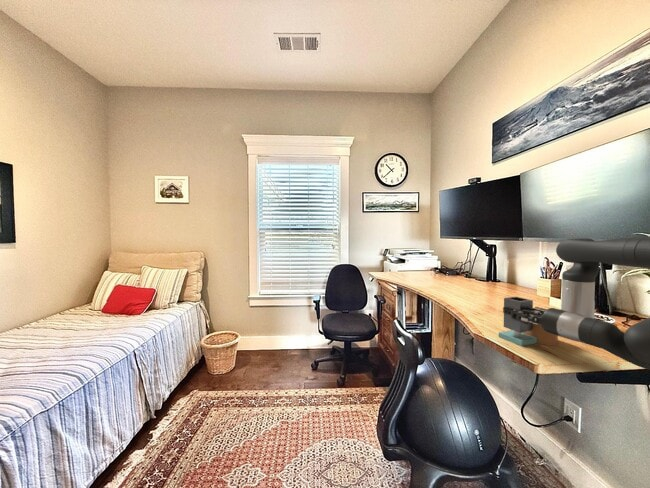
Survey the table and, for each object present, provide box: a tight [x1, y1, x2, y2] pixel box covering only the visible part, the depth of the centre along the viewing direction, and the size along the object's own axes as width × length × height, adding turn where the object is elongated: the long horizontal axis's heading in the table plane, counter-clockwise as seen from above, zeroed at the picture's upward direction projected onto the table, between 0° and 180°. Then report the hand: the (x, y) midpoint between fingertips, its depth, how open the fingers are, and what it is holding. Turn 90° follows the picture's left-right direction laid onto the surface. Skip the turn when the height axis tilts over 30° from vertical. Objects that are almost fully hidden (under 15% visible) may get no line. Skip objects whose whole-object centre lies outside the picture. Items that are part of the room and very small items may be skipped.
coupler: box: [503, 296, 534, 332], centre depth 91 cm, size 6×6×10 cm
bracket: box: [509, 323, 559, 346], centre depth 96 cm, size 18×8×7 cm, turn 179°
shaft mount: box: [498, 330, 538, 347], centre depth 91 cm, size 7×8×7 cm
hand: (510, 308), depth 93 cm, fingers closed on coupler, 5 cm apart
